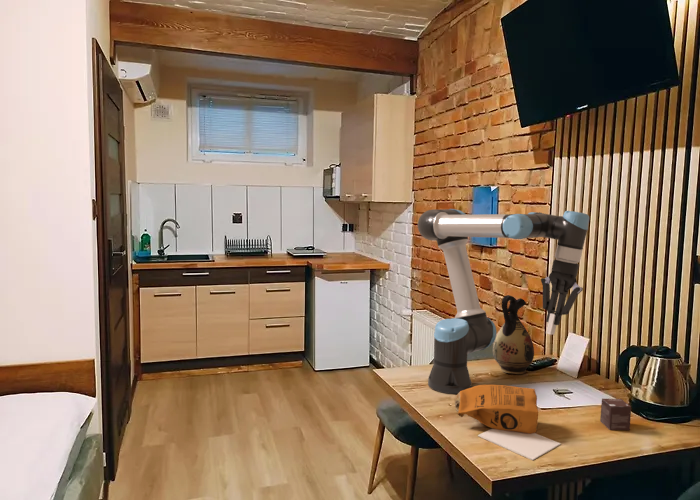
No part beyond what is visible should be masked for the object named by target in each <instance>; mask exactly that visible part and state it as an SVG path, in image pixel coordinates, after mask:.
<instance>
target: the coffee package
mask: <svg viewBox="0 0 700 500" xmlns="http://www.w3.org/2000/svg"><path fill="white" fill-rule="evenodd" d="M537 397H538V396H537V393H536V390H535V388H529V387H520V386H514V385H513V386H512V385H506V384H505V385H504V384H503V385H501V384H478V385H475V386H471V388H468V389H465V390H462V391H460V405H459V411H457V416H459V417H460V418H463V417H464V415H467V416H468V417H470V418H471V419H474V420H477V421H478V422H479V423H481V424H482V425H485V427H488V428H490V429H492V428H494V429H497V430H506V431H515V432H521V433H528V434H532V433H536V432H537V431H538V430H537V427H538V424H539V423H538V421H539V410H538V409H539V408H538V406H537V405H538V404H537V403H538V398H537Z"/></svg>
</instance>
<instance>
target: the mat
mask: <svg viewBox="0 0 700 500" xmlns="http://www.w3.org/2000/svg"><path fill="white" fill-rule="evenodd" d="M477 437H479V438H481V439H484V440H486V441H488V442H490V443H492V444H494V445H497V446H499V447H501V448H503V449H506V450H508V451H511V452H513V453H515V454H517V455H519V456H522V457H524V458H527V459H528V460H530V461H534V460H537V459H538V458H540V457H541V456H543V455H545V454H547V453H548V452H551V451H552V450H554V449H555V448H557V447H559V446H560V445H561V442H558V441H557V440H553V439H550V438H548V437H545V436H543V435H540V434H538V433H536V432H535V433H532V434H528V433H521V432H515V431H506V430H497V429H494V428H490V429H488V430H486V431H484V432H482V433H479V434H478V435H477Z"/></svg>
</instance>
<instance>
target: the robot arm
mask: <svg viewBox="0 0 700 500" xmlns="http://www.w3.org/2000/svg"><path fill="white" fill-rule="evenodd" d="M589 223H590V216H589V215H588V214H587V213H586V212H585V213H584V212H579V211H573V210H572V211H571V210H565V211H564V213H563V215H554V214H548V213H542V212H540V211H539V212H536V211H535V212H533V211H531V212H528V213H512V214H510V213H508V214H507V213H506V214H505V213H503V214H501V213H500V214H498V213H497V214H495V213H493V214H491V213H490V214H489V213H487V214H482V213H481V214H466V213H465V212H463V211H462V210H460V209H455V208H449V209H447V208H446V209H445V208H444V209H437V208H436V209H429V210H426V211H425V212H423V213H422V214H421V215H420V216H419V217H418V221H417V230H418V232H419V234H420V236H422V237H423V238H424V239H425V240H428V241H433V242H434V241H435V242H436V243H437V248H439V249H440V250H442V252H443V257H444V260H445V265H446V268H447V269H446V270H447V273H448V277H449V281H450V282H449V283H450V287H451V290H452V295H453V298H454V303H455V307H456V311H457V312H456V314H455V316H454V317H453V318H444V319H441V320H440V321H438V322H437V323H436V324H435V327H434V334H433V337H434V341H433V343H434V344H433V364H432V368H431V370H430V373H429V376H428V380H427V382H428V383H427V385H428V387H429V388H430V389H432V390H434V391H436V392H440V393H444V394H455V395H457V394H458V393H459V392H460V391H462V390H465V389H468V388H472V380H471V376H470V373H469V369H468V354H473V353H474V352H478V351H484V350H485V349H488V348H489V347H491V346H493V343H494V341H495V339H496V335H497V327H496V324H495V322H494V321H493V320H491V318H489V317H488V316H487V312H486V310H484V309H483V308H482V307H481V305H480V304H481V303H480V301H479V296H478V291H477V288H476V283H475V279H474V276H473V272H472V267H471V263H470V262H471V261H470V259H469V255H468V251H467V243H468V242H469V238H494V239H495V238H498V239H499V238H500V239H503V238H504V239H505V238H506V239H513V240H523V239H532V238H533V239H535V238H547V239H551V240H557V245H556V248H555V253H554V258H555V259H553V262H552V266H551V271H550V273H549V275H548V276H547V277H545V278H544V277H541V279H540V282H541V284H542V309H543V310H546V312H547V315H546V319H545V322H546V323H547V328H546V331H545V334H548V335H549V336H550V335H552V336H553V335H555V333H556V327H557V326H560V324H561V319H562V316H564V315H567V316H568V315H569V313H570V311H571V310H572V307H573V305H574V304H575V302H576V299H577V297H578V296H579V294H580V293H581V292H582V291H583V287H582V286H579V284H578V283H577V282H578V281H577V276H578V271H579V267H580V264H578V263H580V262H581V258H582V254H583V250H584V245H585V241H586V237H587V233H588V230H589ZM550 284H551V286H552V287H551V286H550ZM571 289H572V291H571V292H570V294H569V290H571ZM568 294H569V296H568ZM567 297H568V298H567Z"/></svg>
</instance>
